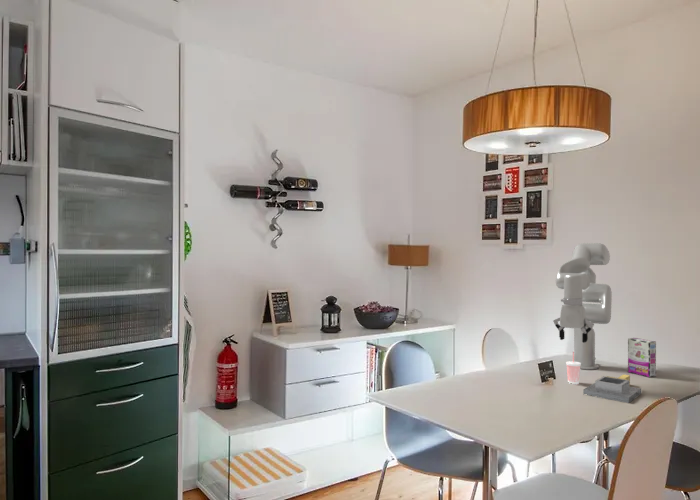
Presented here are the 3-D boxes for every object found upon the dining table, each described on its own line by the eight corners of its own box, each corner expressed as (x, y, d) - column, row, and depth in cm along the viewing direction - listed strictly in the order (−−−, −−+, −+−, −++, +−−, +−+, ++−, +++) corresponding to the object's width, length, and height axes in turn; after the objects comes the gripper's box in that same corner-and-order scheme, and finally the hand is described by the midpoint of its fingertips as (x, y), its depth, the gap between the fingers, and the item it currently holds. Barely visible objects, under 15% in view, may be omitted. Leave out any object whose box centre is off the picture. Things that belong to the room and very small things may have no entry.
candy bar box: (656, 376, 239) (656, 341, 239) (649, 377, 237) (649, 342, 237) (634, 371, 249) (634, 337, 249) (627, 372, 247) (627, 338, 247)
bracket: (616, 382, 229) (616, 370, 229) (636, 386, 224) (636, 373, 224) (606, 389, 219) (606, 376, 219) (626, 393, 214) (626, 379, 214)
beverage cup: (568, 380, 234) (568, 349, 234) (582, 382, 230) (582, 351, 230) (564, 383, 229) (564, 351, 229) (578, 385, 225) (578, 353, 225)
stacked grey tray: (597, 385, 225) (597, 373, 225) (641, 393, 213) (641, 380, 213) (583, 394, 213) (583, 381, 212) (628, 403, 201) (628, 388, 201)
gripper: (550, 301, 232) (550, 339, 232) (590, 304, 220) (590, 344, 220) (557, 300, 238) (557, 337, 238) (596, 303, 226) (596, 342, 226)
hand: (573, 340), depth 229 cm, fingers open, 9 cm apart
